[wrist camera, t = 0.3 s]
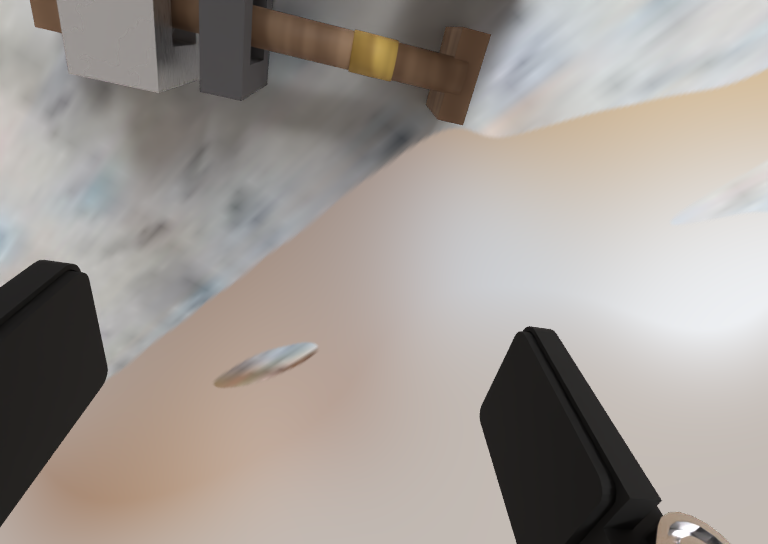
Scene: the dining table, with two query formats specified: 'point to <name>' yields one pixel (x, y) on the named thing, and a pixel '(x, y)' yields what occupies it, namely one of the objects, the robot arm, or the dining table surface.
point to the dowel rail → (349, 51)
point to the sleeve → (128, 43)
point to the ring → (230, 49)
